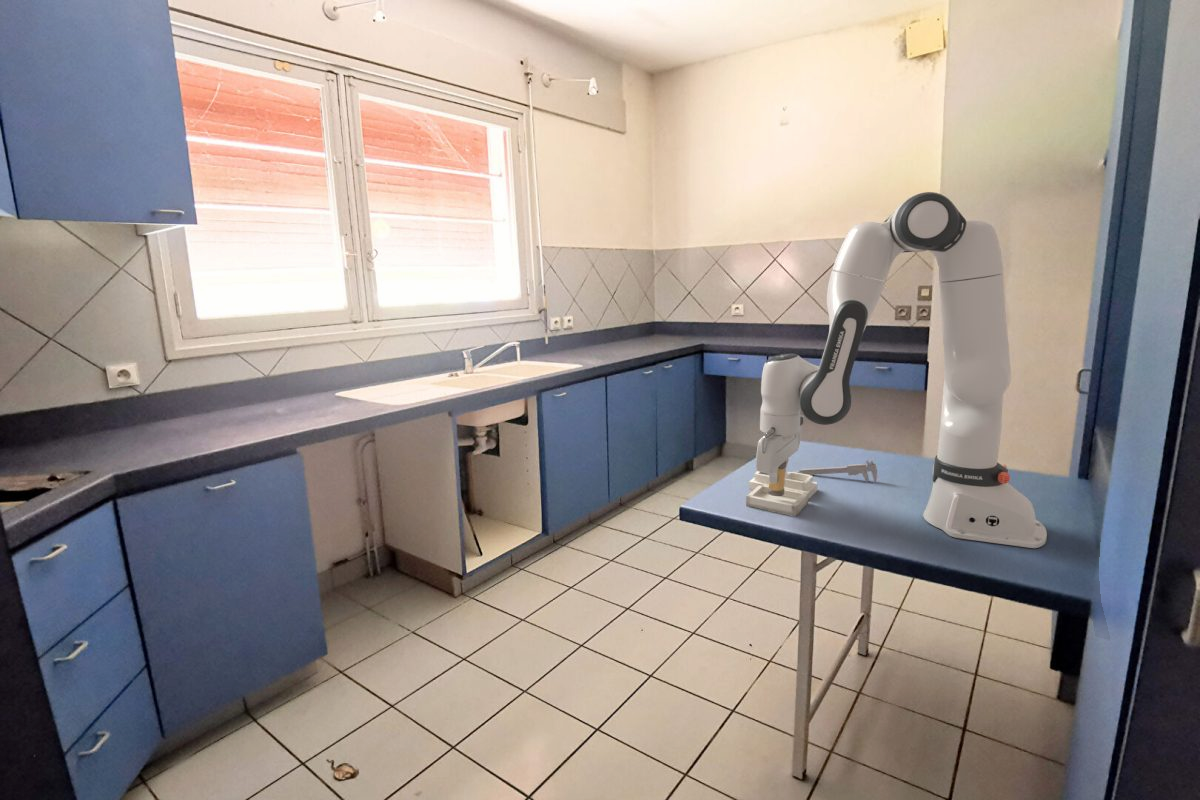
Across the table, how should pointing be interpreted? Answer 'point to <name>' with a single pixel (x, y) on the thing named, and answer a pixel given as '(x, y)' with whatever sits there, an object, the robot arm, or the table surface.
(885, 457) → the table surface
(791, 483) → the block
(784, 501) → the parts tray
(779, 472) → the fuse
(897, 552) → the table surface
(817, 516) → the table surface
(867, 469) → the caliper
